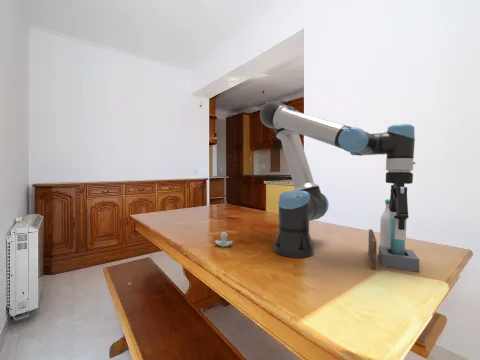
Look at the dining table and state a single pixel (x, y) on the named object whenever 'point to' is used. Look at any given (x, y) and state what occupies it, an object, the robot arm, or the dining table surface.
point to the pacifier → (223, 240)
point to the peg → (396, 242)
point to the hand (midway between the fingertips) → (396, 234)
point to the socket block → (398, 259)
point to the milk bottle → (385, 227)
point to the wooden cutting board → (372, 249)
